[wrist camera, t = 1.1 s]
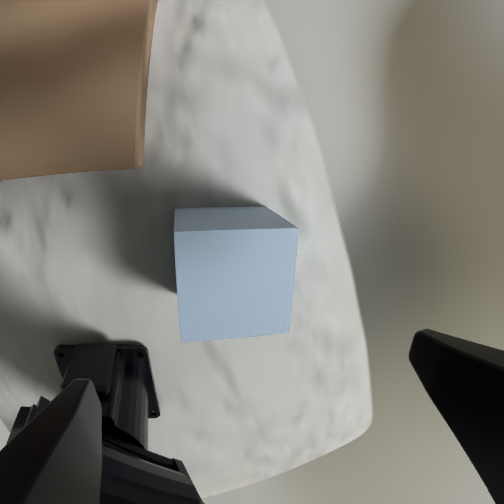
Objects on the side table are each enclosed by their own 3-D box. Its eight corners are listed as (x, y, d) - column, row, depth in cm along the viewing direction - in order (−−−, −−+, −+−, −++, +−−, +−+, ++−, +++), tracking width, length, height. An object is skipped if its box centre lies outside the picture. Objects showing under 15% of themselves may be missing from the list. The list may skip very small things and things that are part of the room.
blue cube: (261, 288, 19) (289, 332, 15) (178, 293, 18) (181, 342, 13) (265, 206, 18) (298, 228, 13) (174, 208, 16) (174, 231, 12)
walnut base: (144, 164, 16) (134, 169, 12) (-9, 177, 13) (-46, 188, 10) (158, -3, 12) (156, -37, 9) (6, 23, 10) (-24, 4, 6)
